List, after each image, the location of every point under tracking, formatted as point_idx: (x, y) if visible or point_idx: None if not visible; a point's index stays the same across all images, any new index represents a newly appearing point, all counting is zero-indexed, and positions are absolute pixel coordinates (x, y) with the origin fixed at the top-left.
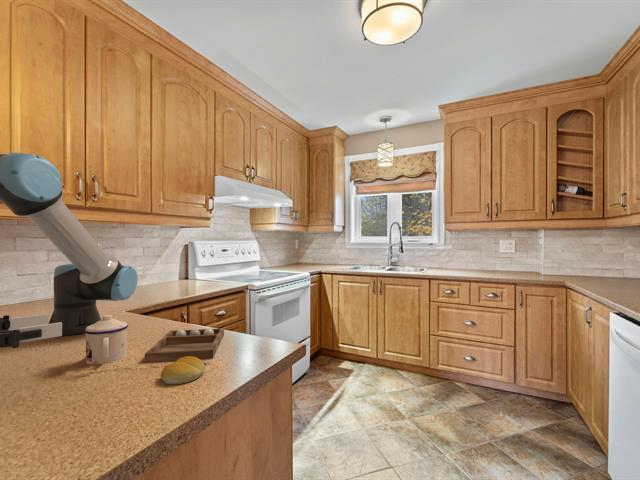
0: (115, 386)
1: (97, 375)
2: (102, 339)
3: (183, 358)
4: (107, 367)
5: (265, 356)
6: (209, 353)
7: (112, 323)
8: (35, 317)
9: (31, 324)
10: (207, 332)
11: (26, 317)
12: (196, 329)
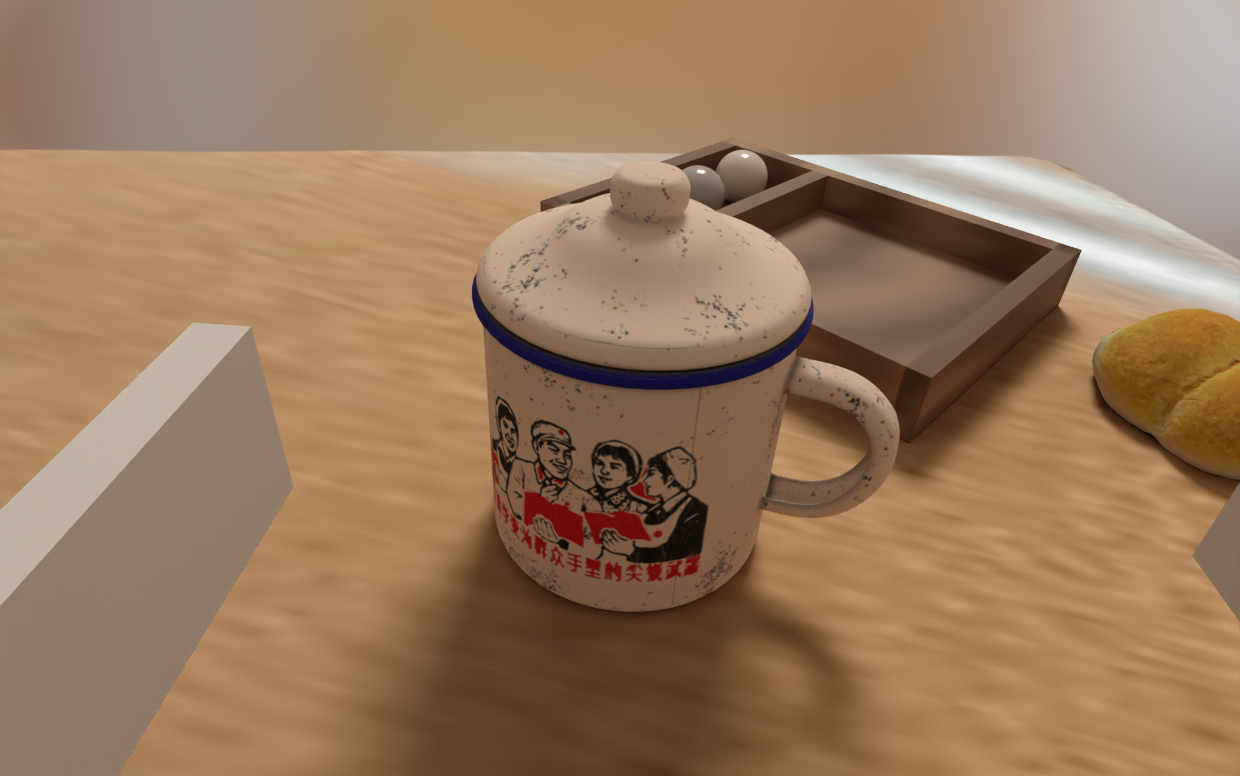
0: (1217, 644)
1: (894, 636)
2: (783, 390)
3: (1220, 334)
4: (757, 548)
5: (1102, 225)
6: (1067, 271)
7: (742, 234)
8: (162, 471)
9: (163, 615)
10: (759, 171)
11: (46, 565)
12: (703, 166)
